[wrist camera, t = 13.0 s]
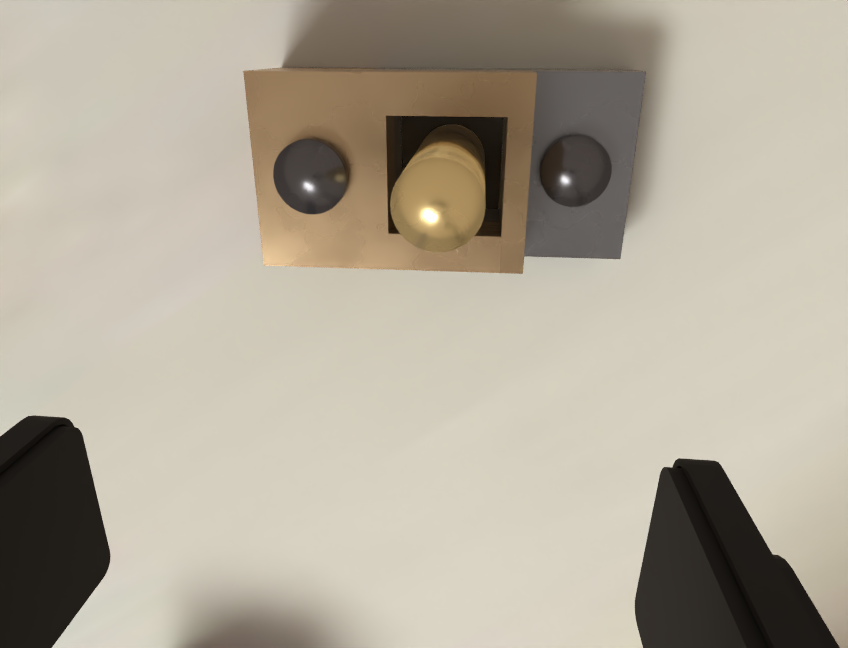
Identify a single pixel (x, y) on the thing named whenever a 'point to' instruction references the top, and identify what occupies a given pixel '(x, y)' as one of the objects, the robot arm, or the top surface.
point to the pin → (441, 191)
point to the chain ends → (382, 162)
